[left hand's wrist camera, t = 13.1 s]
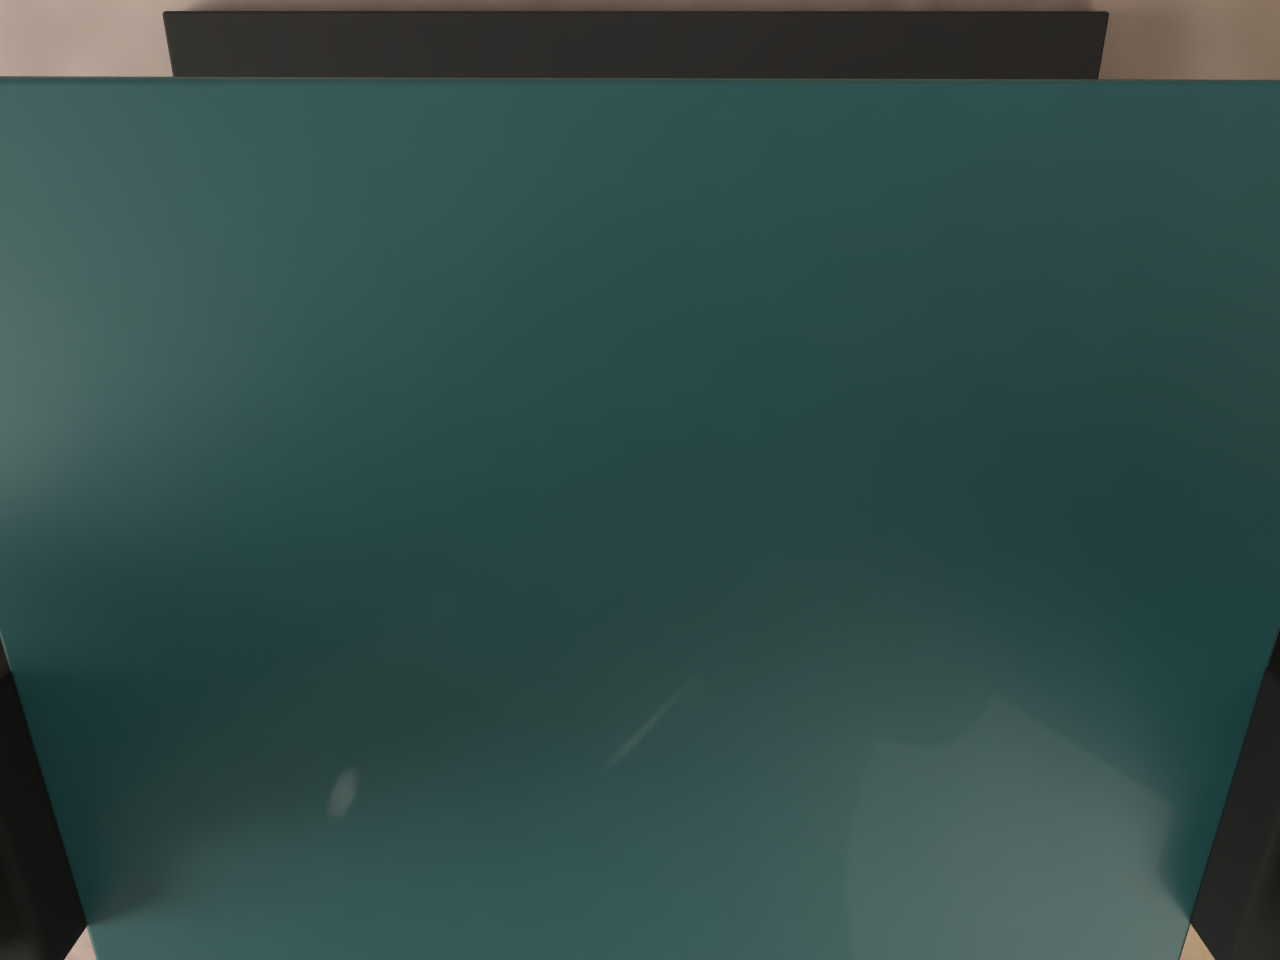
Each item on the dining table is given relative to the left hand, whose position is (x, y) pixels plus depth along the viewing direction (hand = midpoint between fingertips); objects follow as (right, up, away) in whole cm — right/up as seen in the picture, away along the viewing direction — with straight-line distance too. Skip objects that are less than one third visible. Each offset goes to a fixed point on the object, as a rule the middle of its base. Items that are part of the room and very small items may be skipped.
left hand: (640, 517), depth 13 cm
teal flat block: (0, 0, -1) cm, 1 cm away
